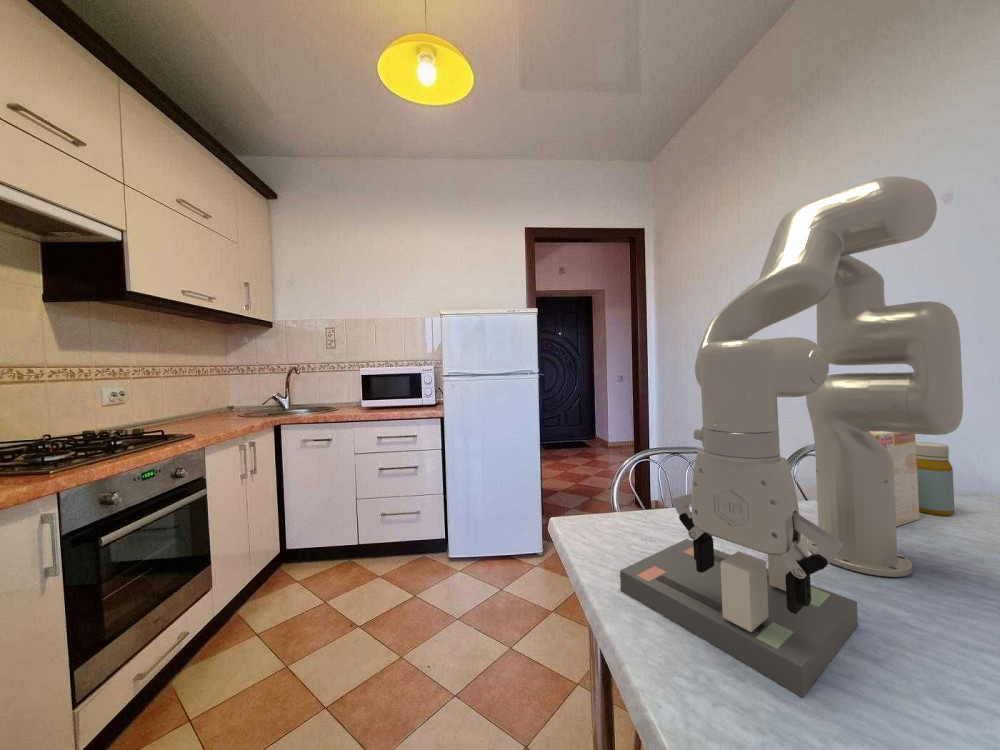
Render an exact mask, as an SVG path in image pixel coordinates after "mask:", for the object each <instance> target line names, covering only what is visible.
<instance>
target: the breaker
mask: <svg viewBox="0 0 1000 750" xmlns="http://www.w3.org/2000/svg"><path fill="white" fill-rule="evenodd" d="M798 545H799V546H800V547H801V548H802V549H803V551H804V552H805V553H806V554H807V555H808V556H809V548H808V538H807V537H805V536H804V535H802V534H801V539H800V542H799V543H798ZM767 561H768V563H767V564H768V567H767V569H769V585H772V586H774V587H777V588H779V589H782V590H784V591H786V574H787V573H789V572H790V570H789V569H788V567H787V566H786V565H785V563H784V562H783V561H782V560H781V558H780V557H779V556H774V555H769V554H767Z"/></svg>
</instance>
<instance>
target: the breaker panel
mask: <svg viewBox="0 0 1000 750" xmlns="http://www.w3.org/2000/svg"><path fill="white" fill-rule="evenodd" d="M731 555H732V554H728V553H727V552H724V551H721V550H719V549H715V548H714V566H713V567H712V568H710V569H708V570H707V571H705V572H704V573H700V572H698V571H697V570H696V560H695V559H694V548H693V539H689V538H685V539H683V540H681V541H679V542H677V543H674V544H673V545H670V546H668V547H666V548H664V549H662V550H660V551H658V552H656V553H654V554H652V555H650V556H648V557H645V558H643V559H641V560H639V561H637V562H634V563H633V564H631V565H628V566H626V567H624V568H622V569H620V570H619V577H620V578H619V580H620V581H619V582H620V591H621V592H622V593H624V594H626V595H628V596H630V597H632V598H633V599H634V600H637V601H638V602H640V603H641V604H642V605H645V606H646V607H649V608H650V609H651V610H652V611H655V612H657V613H658V614H660V615H662V616H663V617H665V618H667V619H668V620H670V621H673V623H675V624H676V625H678V626H680V627H681V628H684V629H685V630H687V631H689V632H691V633H692V634H694V635H696V636H697V637H699V638H700V639H702V640H703V641H705V642H708V643H709V644H711V645H712V646H714V647H716V648H718V649H719V650H721V651H722V652H724V653H726V654H728V655H729V656H731V657H733V658H735V659H736V660H738V661H740V662H742V663H743V664H745V665H746V666H748V667H750V668H752V669H753V670H755V671H756V672H758V673H760V674H762V675H763V676H765V677H766V678H768V679H770V680H772V681H774V682H775V683H777V684H779V685H780V686H782V687H783V688H785V689H787V690H789V691H791V692H792V693H794V694H796V695H797V696H799V697H801V698H804V697H805V696H806V695H807V693H808V692H809V691H810V689H811V688H812V686H813V685H814V684H815V683H816V681H817V680H818V679H819V677H820V676H821V675H822V674H823V672H824V671H825V669H826V668H827V667H828V665H829V664H830V663H831V662H832V660H833V659H834V658H835V656H836V655H838V652H839V651H840V650H841V649H842V647H843V646H844V645H845V643H846V642H847V641H848V640H849V638H850V637H851V635H852V634H853V633H854V632H855V630H856V629H857V628H858V627H859V621H858V620H859V619H858V618H859V617H858V601H855V600H853V599H850V598H848V597H844V596H842V595H839V594H837V593H834V592H832V591H829V590H826V589H823V588H821V587H818V586H815V585H813V584H811V602H810V604H809V606H804V607H803V608H802V609H801V610H800V611H799V612H798V613H797V614H794V613H792V612H790V611H789V610H788V609H787V598H786V591H784V590H782V589H779V588H777V587H774V586H772V585H769V568H767V591H768V618H767V619H766V620H765V621H763V622H762V623H761V624H760V625H759V626H758V627H757V628H756V629H754V630H753V631H752V632H750V631H748V630H746V629H744V628H742V627H740V626H738V625H736V624H734V623H732V622H730V621H729V620H727V619H725V618H723V612H722V586H721V561H723V560H724V559H726V558H728V557H729V556H731Z"/></svg>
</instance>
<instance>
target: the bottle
mask: <svg viewBox="0 0 1000 750" xmlns="http://www.w3.org/2000/svg"><path fill="white" fill-rule="evenodd" d="M915 442H916V461H917V479H918V499H919V513H921V514H926V515H930V516H931V515H932V516H940V517H947V516H948V517H949V516H951V515H953V514H955V509H956V508H955V493H954V490H955V489H954V469H953V466H952V464H951V462H950V461H949V460H950V456H949V455H950V451H949V450H950V449H949V448H950V447H949V445H948V444H945V443H939V442H937V443H936V442H928V441H915Z"/></svg>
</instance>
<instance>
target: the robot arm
mask: <svg viewBox="0 0 1000 750" xmlns="http://www.w3.org/2000/svg"><path fill="white" fill-rule="evenodd" d="M937 210H938V208H937V199H936V197H935V194H934V192H933V190H932V188H931V187H930V186H929V185H928V184H926V183H925V182H923V181H922V180H919V179H914V178H909V177H905V176H884V177H880V178H873V179H871V180H868V181H865V182H862V183H860V184H857V185H854V186H851V187H847V188H845V189H842V190H840V191H837V192H834V193H830V194H828V195H826V196H823V197H820V198H817V199H813V200H811V201H809V202H808V201H807V202H806V203H804V204H801V205H799V206H797V207H795V208H793V209H792V210H790V211H789V212H788V213H787V214H785V216H784V217H782V219H781V220H780V221H779V224H778V225H777V227H776V229H775V233H774V235H773V239H772V241H771V244H770V246H769V249H768V252H767V254H766V255H767V256H766V258H765V261H764V263H763V266H762V268H761V271H760V272H761V273H760V275H759V277H758V279H757V280H756V281H754V282H752V284H750V285H749V286H747V287H746V288H745V289H744V290H742V291H741V292H740V293H739V294H738V295H736V296H735V297H734V298H733V299H731V301H730V302H728V303H727V304H726V305H725V306H724V307H722V308H721V309H720V310H719V312H718V313H716V315H715V316H714V317H713V318H712V320H711V321H710V323H709V324H708V325H707V328H706V330H705V331H704V335H703V338H702V340H701V343H700V346H699V347H698V351H697V354H696V358H695V364H694V375H695V378H696V382H697V383H698V385H699V386H700V393H701V394H700V395H701V412H702V413H701V416H702V417H701V418H702V426H701V429H694V431H693V438H694V439H695V440H697V441H700V442H702V448H703V449H700V450H697V451H696V456H695V460H694V461H695V463H694V465H693V466H694V467H693V473H692V485H691V492H690V493H687V494H684V495H683V494H682V495H680V496H678V497H677V496H676V497H674V498H672V504H673V506H674V509H675V511H676V513H677V514H678V515H679V516H678V519H679V521H680V523H682V525H683V526H684V527H685V529H686V530H687V535H688V537H689V538H690V540H692V541H693V548H694V559H695V560H696V570H697V571H698V572H700V573H704V572H705V571H707V570H708V569H710V568H712V567H713V566H714V549H715V548H714V538H713V537H715V538H719V539H720V540H723V541H724V540H725V541H726V542H729V543H733V544H736V545H740V546H741V547H745V548H747V549H750V550H753V551H757V552H760V553H763V554H765V555H768V554H769V555H774V556H779V557H780V558H781V560H782V561H783V562H784V563H785V565H786V566H787V567H788V569H789V570H790V572H789V573H787V574H786V598H787V609H788V610H789V611H790V612H792V613H794V614H797V613H798V612H799V611H800V610H801V609H802V608H803V607H804V606H809V604H810V602H811V585H812V584H811V575H812V574H814V573H816V572H819V571H821V570H823V569H825V568H827V567H828V565H829V564H832V565H835V566H837V567H841V568H844V569H846V570H850V571H853V572H856V573H857V572H858V573H862V574H867V575H871V576H878V577H888V578H898V577H900V578H901V577H907V576H909V575H911V574H912V573H913V562H911V561H910V559H909V558H907V557H906V556H905V555H903V554H901V553H900V552H898V540H897V539H898V538H897V526H896V511H895V488H894V464H893V460H892V457H891V455H890V453H889V452H888V450H887V449H886V448H885V447H884V446H883V444H882V443H880V442H879V441H878V440H877V439H876V438H875V437H874V436H873V435H872V434H871V433H870V432H869V431H884V432H897V433H910V434H915V435H926V436H927V435H928V436H929V435H930V436H931V435H933V436H941V435H942V436H943V435H947V434H951V433H953V432H955V431H956V430H957V429H958V428H959V426H960V424H961V423H962V419H963V414H964V412H963V411H964V401H963V400H964V394H963V371H962V368H963V367H962V350H961V347H962V346H961V344H962V343H961V333H960V326H959V321H958V319H957V316H956V314H955V313H954V311H953V310H952V309H951V307H950V306H948V305H946V304H944V303H943V302H938V301H916V302H909V303H908V302H907V303H900V304H899V303H898V304H894V305H886V302H885V301H886V300H885V280H884V277H883V276H882V274H881V273H879V271H877V270H876V269H875V268H873V267H872V266H871V265H869V264H868V263H865V262H864V261H862V260H859V259H858V258H856V257H854V256H852V255H853V254H860V253H864V252H867V251H871V250H875V249H880V248H884V247H888V246H892V245H897V244H902V243H906V242H909V241H913V240H916V239H919V238H922V237H923V236H924V235H925V234H927V232H928V231H930V229H931V228H932V226H934V225H933V224H934V222H935V220H936V216H937V212H938V211H937ZM814 306H816V342H814V341H813V340H811V339H808V338H805V337H797V336H796V337H795V336H792V337H791V336H790V337H777V338H767V339H761V338H760V339H758V338H750V337H752V336H753V335H755V334H756V333H758V332H760V331H761V330H763V329H765V328H767V327H769V326H772V325H774V324H777V323H779V322H781V321H783V320H786V319H789V318H792V317H793V316H795V315H797V314H800V313H801V312H804V311H806V310H808V309H810V308H812V307H814ZM830 365H834V366H878V365H879V366H880V365H882V366H883V365H884V366H885V365H908V366H910V367H912V370H913V372H912V371H910V372H909V371H908V372H905V371H904V372H850V373H849V372H847V373H844V372H843V373H834V374H833V373H832V374H829V372H830V371H829V370H830ZM804 396H805V402H806V406H807V407H806V408H807V410H808V414H809V419H810V423H811V427H812V433H813V440H814V453H815V454H814V455H815V456H814V457H815V474H816V475H815V476H816V477H815V479H816V501H817V504H816V505H817V521H818V525H816V524H815V523H813V522H812V521H810V520H809V519H807V518H806V517H804V516H802V515H801V514H800V510H799V503H798V497H797V491H796V486H795V482H794V478H793V476H792V471H791V468H790V465H789V462H788V459H787V458H785V457H783V456H781V453H780V452H781V450H780V449H781V448H780V432H779V431H780V429H779V409H778V398H800V397H804ZM690 505H691V509H690ZM801 534H802V535H804V536H805V537H807V543H808V550H809V551H810V552H811V553H812V554H811V555H809V554H808V555H807V554H806V553H805V552H804V551H803V549H802V548H801V547H800V546H799V545H798V543H799V542H800V539H801Z"/></svg>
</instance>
